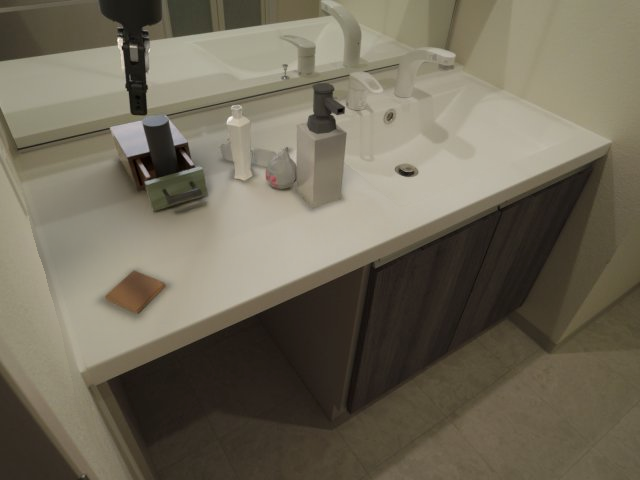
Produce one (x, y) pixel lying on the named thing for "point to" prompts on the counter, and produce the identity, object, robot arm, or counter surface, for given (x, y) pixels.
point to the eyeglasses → (258, 155)
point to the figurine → (281, 170)
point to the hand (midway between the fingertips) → (138, 100)
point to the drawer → (171, 181)
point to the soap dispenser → (321, 150)
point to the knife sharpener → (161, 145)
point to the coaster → (135, 291)
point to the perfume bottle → (240, 142)
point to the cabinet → (139, 146)
